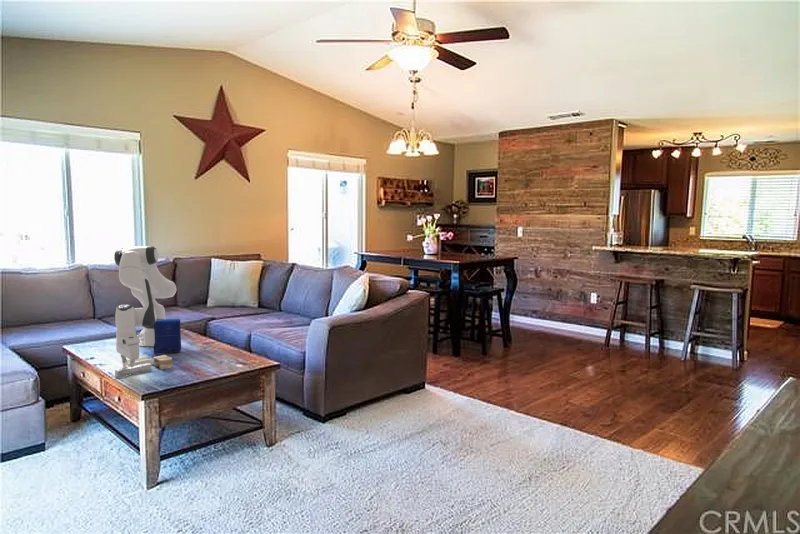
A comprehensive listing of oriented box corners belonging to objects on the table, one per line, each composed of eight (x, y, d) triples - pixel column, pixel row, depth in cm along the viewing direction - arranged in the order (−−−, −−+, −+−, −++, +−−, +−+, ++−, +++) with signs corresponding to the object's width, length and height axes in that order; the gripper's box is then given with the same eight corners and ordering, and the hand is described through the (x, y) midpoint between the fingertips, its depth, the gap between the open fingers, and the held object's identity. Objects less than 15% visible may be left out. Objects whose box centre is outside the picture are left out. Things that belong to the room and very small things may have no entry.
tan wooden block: (153, 366, 274) (153, 357, 274) (165, 363, 279) (164, 354, 278) (160, 369, 269) (160, 360, 268) (172, 367, 273) (172, 358, 272)
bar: (115, 376, 258) (115, 369, 258) (148, 369, 270) (148, 362, 270) (118, 378, 256) (117, 371, 255) (151, 370, 268) (151, 364, 267)
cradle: (122, 366, 274) (122, 360, 274) (146, 361, 283) (146, 355, 283) (128, 369, 269) (128, 363, 268) (152, 364, 278) (152, 358, 277)
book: (153, 355, 295) (151, 320, 293) (154, 352, 300) (153, 318, 298) (180, 353, 299) (179, 319, 296) (181, 351, 304) (180, 317, 301)
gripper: (112, 334, 264) (113, 361, 266) (127, 342, 250) (129, 370, 252) (125, 332, 268) (126, 358, 270) (141, 340, 255) (142, 367, 257)
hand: (128, 364), depth 261 cm, fingers open, 8 cm apart
